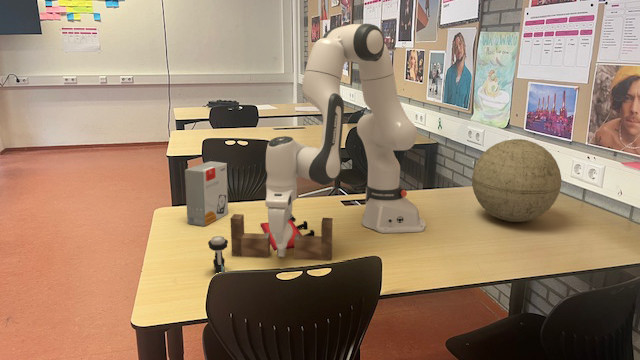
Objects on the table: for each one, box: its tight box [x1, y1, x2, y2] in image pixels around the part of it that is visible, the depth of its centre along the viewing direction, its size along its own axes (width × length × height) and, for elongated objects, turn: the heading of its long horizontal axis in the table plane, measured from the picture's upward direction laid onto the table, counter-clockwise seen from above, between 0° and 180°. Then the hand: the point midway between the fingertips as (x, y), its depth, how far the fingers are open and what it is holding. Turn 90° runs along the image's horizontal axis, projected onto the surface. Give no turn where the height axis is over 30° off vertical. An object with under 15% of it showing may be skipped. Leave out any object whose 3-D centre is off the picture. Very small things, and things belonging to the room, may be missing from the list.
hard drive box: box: [184, 160, 229, 227], centre depth 174 cm, size 16×8×20 cm, turn 158°
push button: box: [207, 235, 229, 274], centre depth 135 cm, size 7×5×10 cm
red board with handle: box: [260, 213, 316, 252], centre depth 165 cm, size 30×3×15 cm
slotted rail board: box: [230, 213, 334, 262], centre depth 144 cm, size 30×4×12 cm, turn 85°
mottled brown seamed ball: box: [471, 138, 562, 223], centre depth 175 cm, size 30×30×30 cm
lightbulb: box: [272, 222, 293, 258], centre depth 144 cm, size 6×6×11 cm
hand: (282, 236), depth 144 cm, fingers open, 8 cm apart
